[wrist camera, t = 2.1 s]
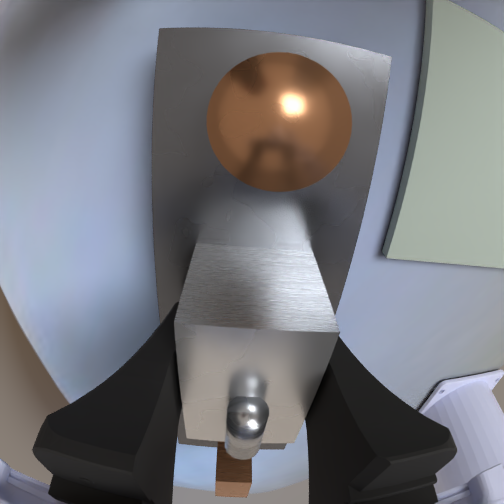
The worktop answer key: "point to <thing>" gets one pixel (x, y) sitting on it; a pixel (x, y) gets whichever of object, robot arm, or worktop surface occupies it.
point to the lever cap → (251, 344)
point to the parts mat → (454, 147)
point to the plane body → (260, 160)
